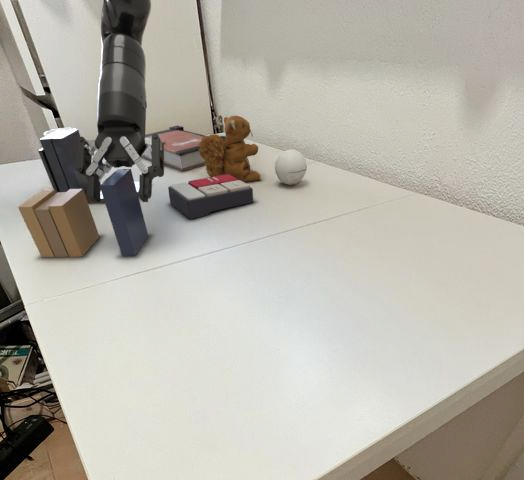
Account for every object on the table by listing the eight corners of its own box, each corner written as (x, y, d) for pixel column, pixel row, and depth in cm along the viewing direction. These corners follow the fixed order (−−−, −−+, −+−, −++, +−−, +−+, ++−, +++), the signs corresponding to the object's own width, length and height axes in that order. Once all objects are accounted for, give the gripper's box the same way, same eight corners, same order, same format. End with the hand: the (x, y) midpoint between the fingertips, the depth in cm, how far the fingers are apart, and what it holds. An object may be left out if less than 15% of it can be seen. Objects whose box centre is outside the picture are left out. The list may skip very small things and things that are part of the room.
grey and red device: (253, 184, 80) (186, 197, 74) (253, 205, 83) (189, 219, 77) (229, 172, 87) (166, 182, 81) (230, 191, 90) (169, 203, 84)
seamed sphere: (279, 191, 87) (278, 156, 82) (272, 180, 92) (271, 147, 87) (321, 185, 88) (323, 151, 83) (311, 175, 93) (312, 142, 89)
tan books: (41, 257, 68) (17, 207, 62) (62, 237, 74) (42, 189, 68) (82, 256, 67) (62, 205, 61) (99, 236, 73) (82, 188, 67)
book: (132, 155, 116) (127, 136, 112) (180, 142, 124) (177, 125, 121) (180, 172, 101) (176, 151, 97) (231, 156, 109) (229, 137, 106)
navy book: (121, 256, 66) (99, 185, 59) (136, 236, 72) (117, 169, 64) (135, 256, 66) (114, 184, 58) (148, 235, 72) (131, 168, 64)
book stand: (53, 204, 88) (27, 141, 79) (74, 187, 96) (53, 129, 87) (133, 202, 86) (116, 137, 77) (148, 185, 94) (133, 125, 86)
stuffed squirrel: (263, 180, 93) (260, 118, 84) (206, 188, 91) (197, 125, 82) (254, 168, 100) (250, 110, 91) (200, 175, 98) (192, 116, 89)
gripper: (68, 91, 60) (64, 191, 59) (156, 86, 59) (153, 188, 58) (93, 122, 68) (89, 211, 67) (171, 118, 67) (169, 209, 66)
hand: (119, 200), depth 63 cm, fingers open, 8 cm apart
